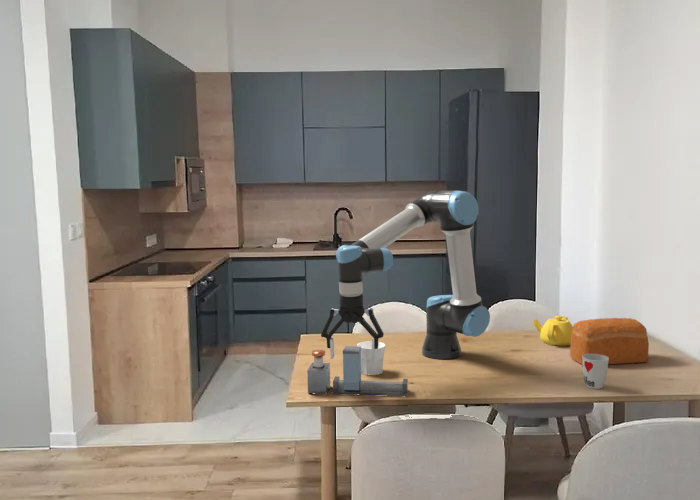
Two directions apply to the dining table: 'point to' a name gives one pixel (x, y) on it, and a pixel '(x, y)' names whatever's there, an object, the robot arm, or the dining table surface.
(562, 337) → the teapot
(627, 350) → the bread
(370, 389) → the rail
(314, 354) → the plunger
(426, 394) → the dining table surface
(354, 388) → the grey rectangular block
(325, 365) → the gauge cabinet
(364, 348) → the cup
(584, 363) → the cup
